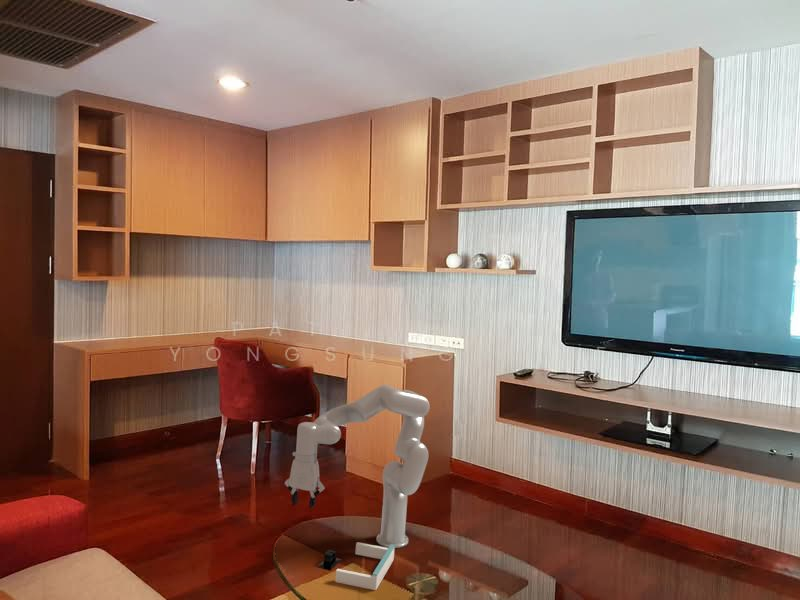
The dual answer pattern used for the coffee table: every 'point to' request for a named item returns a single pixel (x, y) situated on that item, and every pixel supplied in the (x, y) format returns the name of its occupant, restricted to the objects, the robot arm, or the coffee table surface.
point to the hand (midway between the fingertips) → (303, 505)
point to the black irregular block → (329, 560)
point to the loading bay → (378, 574)
